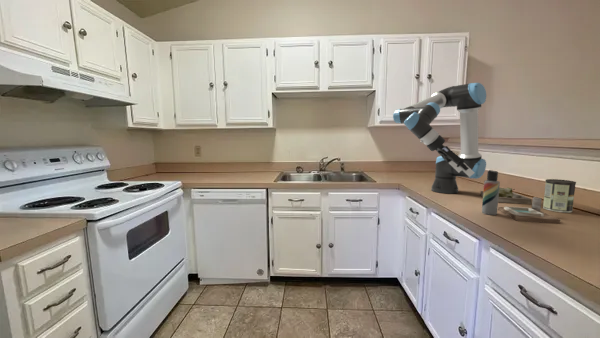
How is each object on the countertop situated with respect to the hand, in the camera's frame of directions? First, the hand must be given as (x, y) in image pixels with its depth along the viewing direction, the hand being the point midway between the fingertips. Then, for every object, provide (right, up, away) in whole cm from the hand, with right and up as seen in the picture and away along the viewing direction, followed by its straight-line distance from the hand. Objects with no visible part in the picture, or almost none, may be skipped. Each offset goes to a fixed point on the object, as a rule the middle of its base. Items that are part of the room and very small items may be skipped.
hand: (466, 172), depth 120 cm
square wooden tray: (+38, -15, +26) cm, 48 cm away
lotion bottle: (+11, -19, 0) cm, 22 cm away
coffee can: (+47, -18, +5) cm, 50 cm away
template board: (+24, -19, -5) cm, 31 cm away
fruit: (+38, -15, +27) cm, 49 cm away
